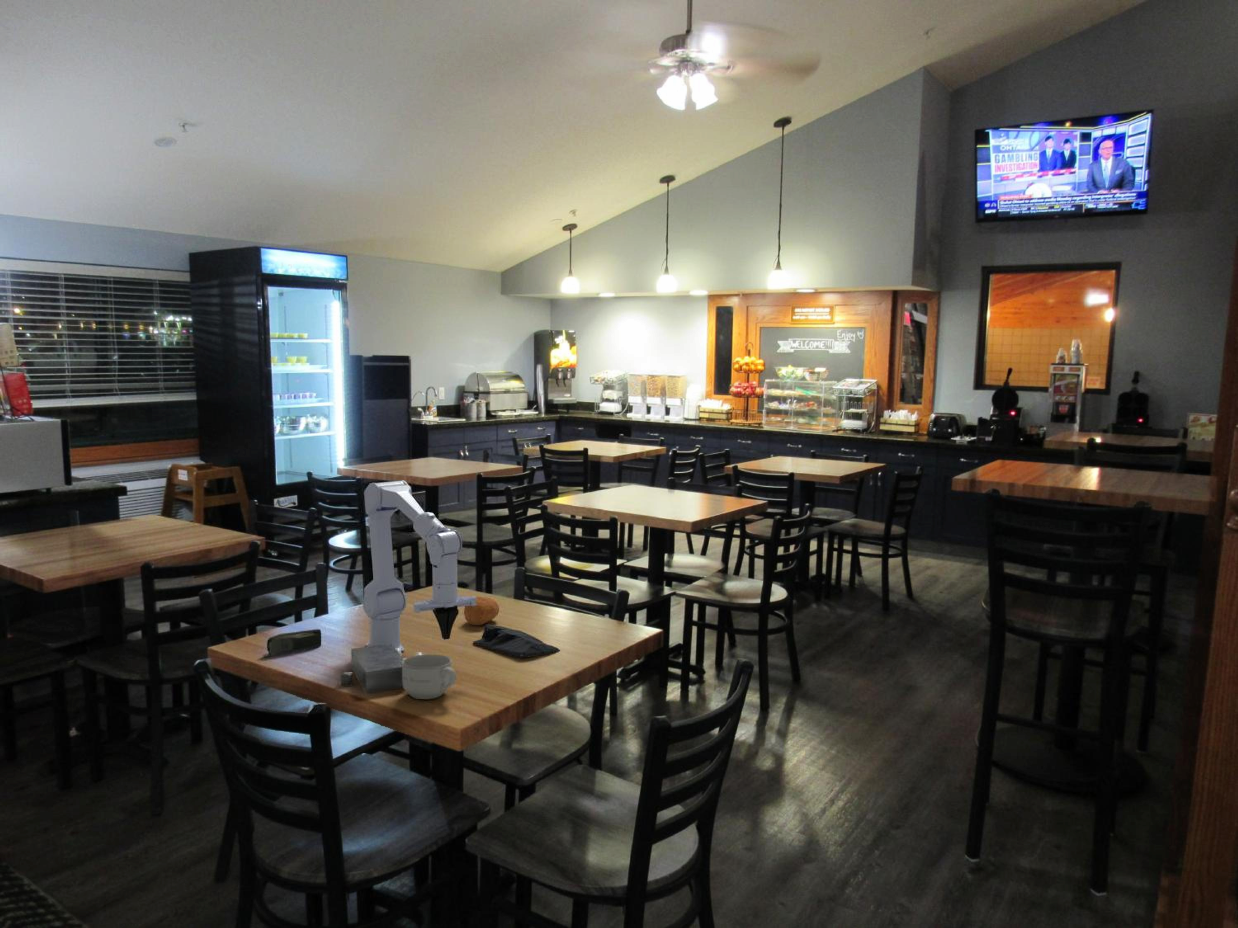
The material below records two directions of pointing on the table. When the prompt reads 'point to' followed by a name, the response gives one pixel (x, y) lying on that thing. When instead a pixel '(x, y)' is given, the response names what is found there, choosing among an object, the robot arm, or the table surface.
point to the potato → (481, 611)
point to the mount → (377, 667)
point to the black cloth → (513, 642)
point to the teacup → (427, 675)
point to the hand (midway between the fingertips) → (445, 638)
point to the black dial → (346, 678)
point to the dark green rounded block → (293, 642)
